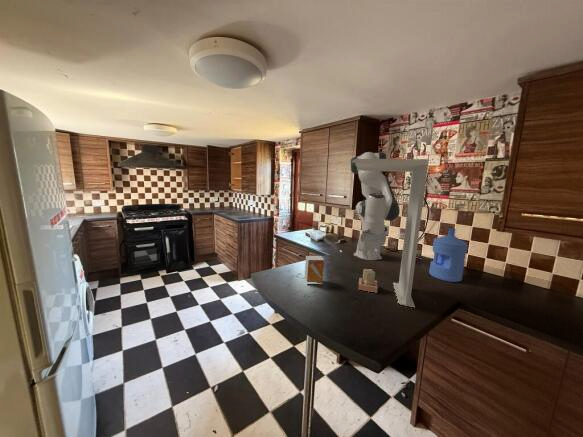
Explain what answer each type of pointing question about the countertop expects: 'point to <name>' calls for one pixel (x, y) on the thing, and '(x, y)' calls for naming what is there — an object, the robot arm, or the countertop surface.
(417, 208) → the stand
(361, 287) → the socket
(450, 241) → the water jug
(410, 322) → the countertop surface
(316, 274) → the small box
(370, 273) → the peg
